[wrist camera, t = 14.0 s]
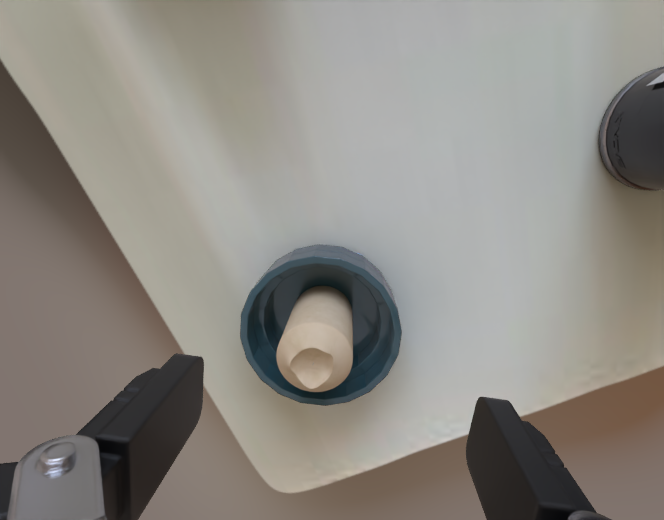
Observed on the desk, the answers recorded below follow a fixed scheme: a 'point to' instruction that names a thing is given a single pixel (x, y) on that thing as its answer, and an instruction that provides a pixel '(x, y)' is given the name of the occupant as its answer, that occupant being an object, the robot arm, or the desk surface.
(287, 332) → the candle
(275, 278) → the bowl
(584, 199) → the desk surface
